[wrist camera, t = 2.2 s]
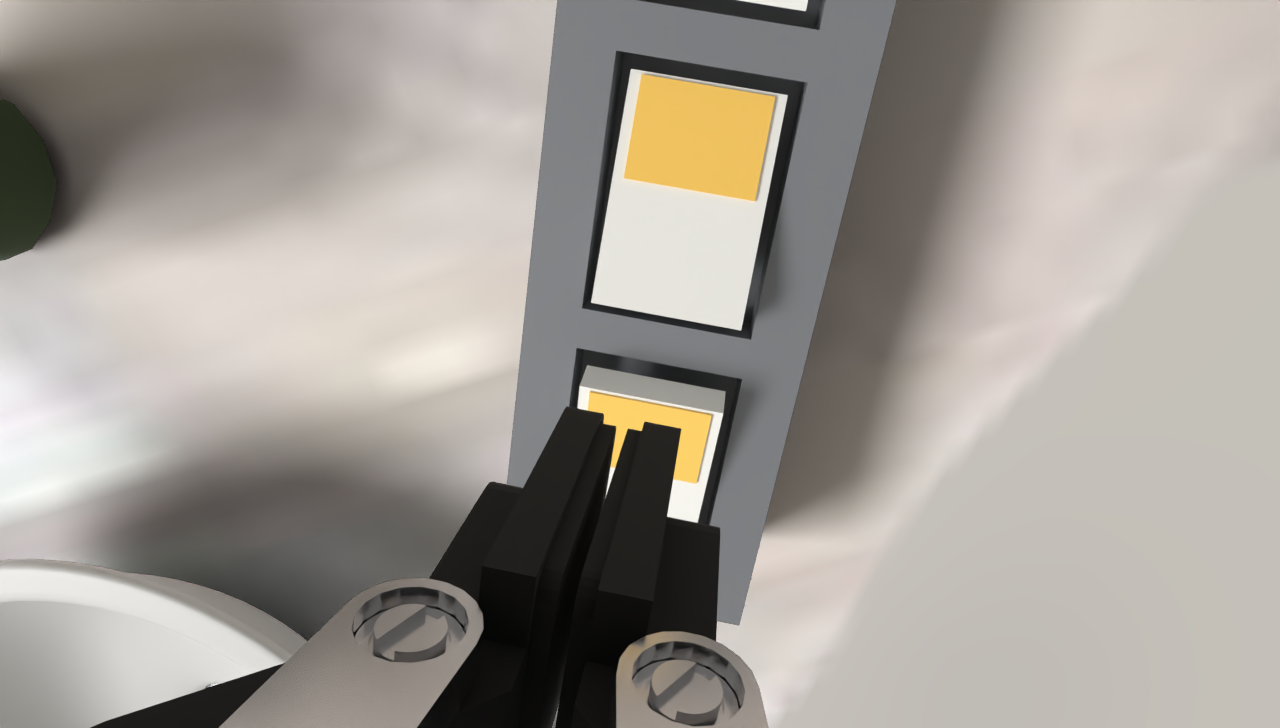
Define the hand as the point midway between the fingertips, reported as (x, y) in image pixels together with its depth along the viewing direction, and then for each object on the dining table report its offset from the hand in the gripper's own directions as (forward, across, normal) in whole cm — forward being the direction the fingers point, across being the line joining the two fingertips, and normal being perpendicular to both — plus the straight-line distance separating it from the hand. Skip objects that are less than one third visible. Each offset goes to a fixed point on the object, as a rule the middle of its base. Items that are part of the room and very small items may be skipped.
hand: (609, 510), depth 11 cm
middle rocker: (+11, 0, -3) cm, 11 cm away
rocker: (+11, 0, +5) cm, 12 cm away
